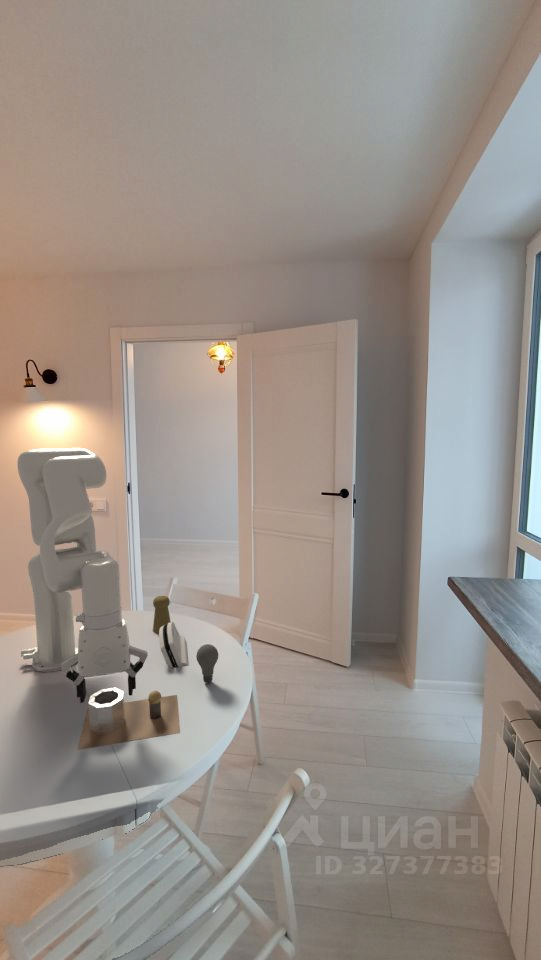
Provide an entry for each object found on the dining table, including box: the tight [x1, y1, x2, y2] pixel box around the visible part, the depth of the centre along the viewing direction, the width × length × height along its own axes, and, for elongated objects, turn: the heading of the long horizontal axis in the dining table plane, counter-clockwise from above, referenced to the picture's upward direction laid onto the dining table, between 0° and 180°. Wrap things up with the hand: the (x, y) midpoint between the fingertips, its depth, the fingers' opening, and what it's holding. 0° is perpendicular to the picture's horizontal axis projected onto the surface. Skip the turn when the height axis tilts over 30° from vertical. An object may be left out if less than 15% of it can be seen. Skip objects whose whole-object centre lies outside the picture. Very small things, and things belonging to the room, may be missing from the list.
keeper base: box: [77, 690, 181, 751], centre depth 98 cm, size 20×14×7 cm
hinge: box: [158, 621, 189, 669], centre depth 128 cm, size 17×5×10 cm, turn 13°
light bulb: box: [196, 643, 219, 684], centre depth 115 cm, size 6×6×10 cm
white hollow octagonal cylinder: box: [88, 687, 125, 735], centre depth 97 cm, size 7×7×6 cm
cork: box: [152, 595, 172, 635], centre depth 146 cm, size 6×6×11 cm
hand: (107, 695), depth 96 cm, fingers open, 9 cm apart
